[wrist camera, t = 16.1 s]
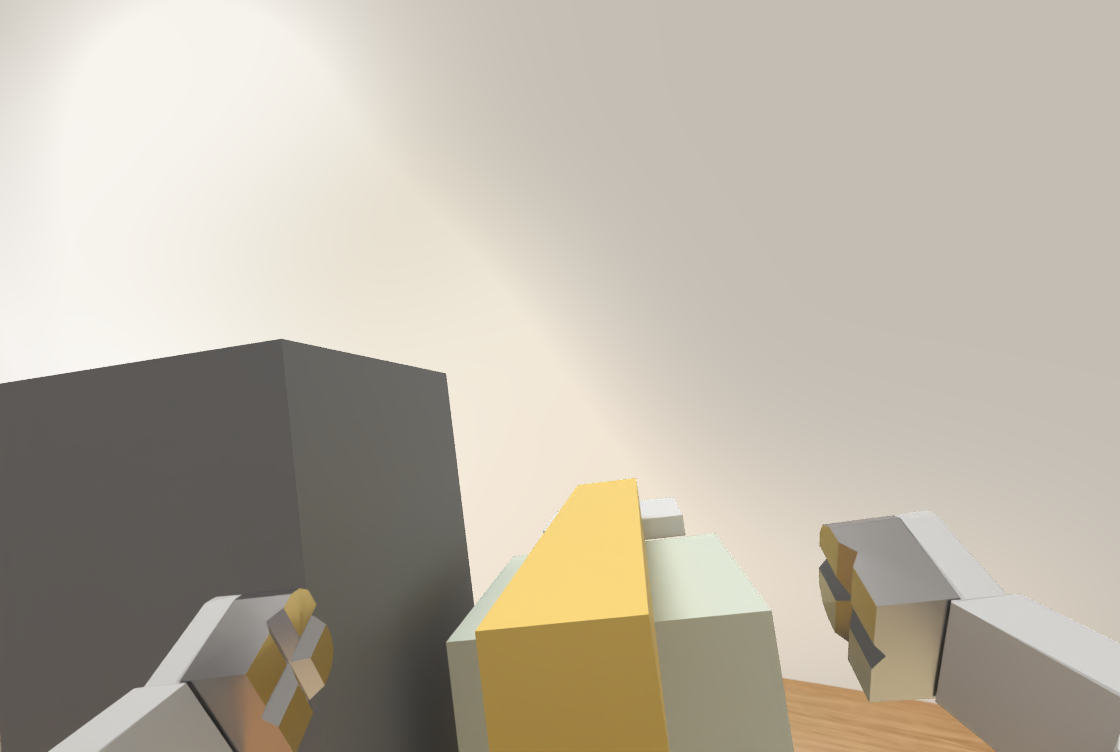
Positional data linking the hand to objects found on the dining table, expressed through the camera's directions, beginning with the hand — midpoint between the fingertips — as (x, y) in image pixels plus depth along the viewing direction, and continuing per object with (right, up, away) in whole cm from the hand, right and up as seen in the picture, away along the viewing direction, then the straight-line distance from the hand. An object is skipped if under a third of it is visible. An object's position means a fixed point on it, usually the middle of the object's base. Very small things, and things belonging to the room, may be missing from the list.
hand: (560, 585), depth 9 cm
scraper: (+2, -5, +13) cm, 14 cm away
